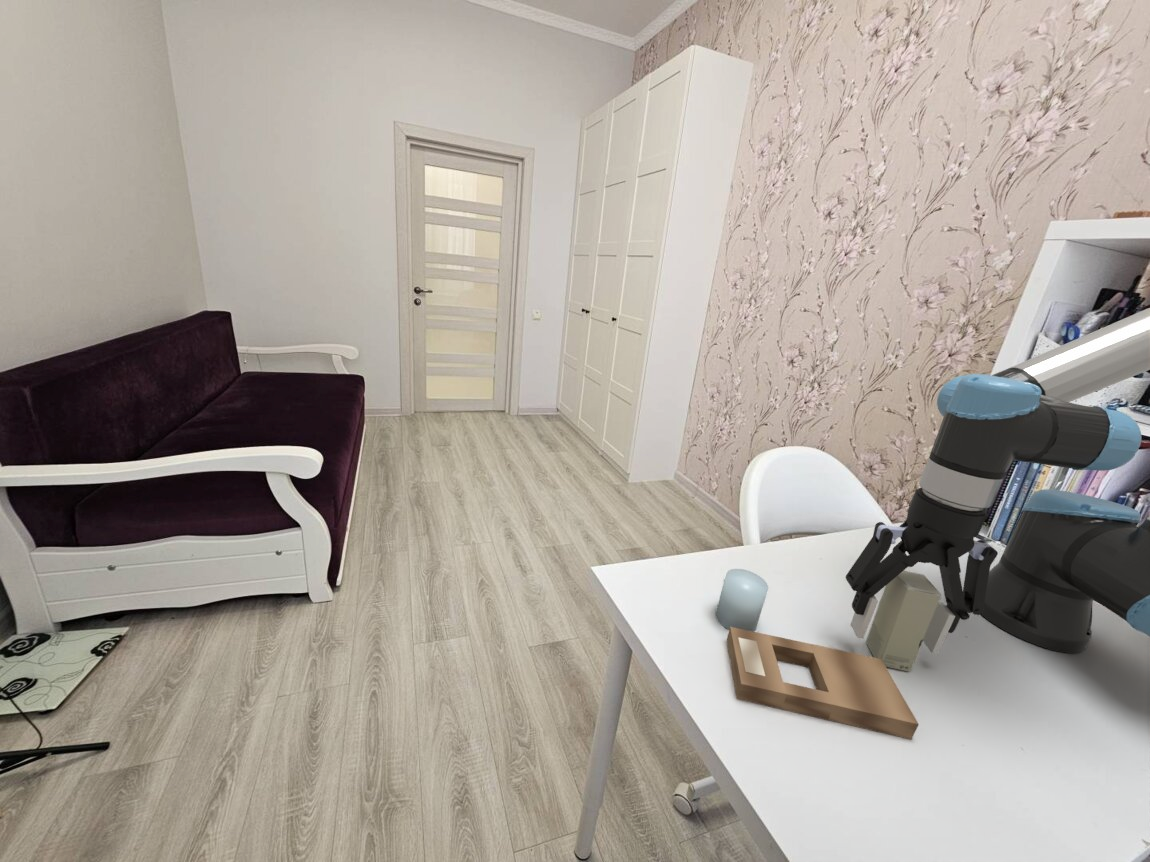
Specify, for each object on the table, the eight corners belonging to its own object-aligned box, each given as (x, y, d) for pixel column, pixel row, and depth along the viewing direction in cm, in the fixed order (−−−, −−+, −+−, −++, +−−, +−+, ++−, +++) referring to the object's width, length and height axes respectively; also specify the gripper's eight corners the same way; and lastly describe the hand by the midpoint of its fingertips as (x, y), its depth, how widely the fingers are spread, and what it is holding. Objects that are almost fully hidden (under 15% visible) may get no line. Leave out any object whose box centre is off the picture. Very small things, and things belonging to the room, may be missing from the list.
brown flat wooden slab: (875, 672, 65) (881, 658, 64) (911, 739, 55) (919, 723, 54) (726, 640, 67) (730, 626, 66) (736, 698, 58) (741, 683, 57)
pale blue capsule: (752, 610, 74) (763, 573, 72) (759, 638, 68) (772, 598, 66) (713, 602, 75) (723, 565, 72) (717, 629, 69) (728, 589, 67)
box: (910, 673, 65) (945, 596, 61) (876, 666, 66) (908, 589, 62) (894, 646, 70) (925, 573, 66) (862, 639, 71) (891, 566, 67)
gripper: (1025, 500, 62) (960, 637, 69) (850, 471, 65) (805, 605, 72) (1071, 528, 55) (993, 677, 62) (873, 494, 58) (820, 641, 65)
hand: (892, 639), depth 67 cm, fingers open, 9 cm apart
